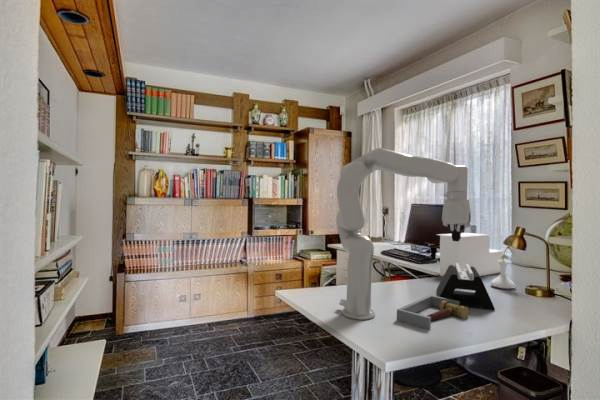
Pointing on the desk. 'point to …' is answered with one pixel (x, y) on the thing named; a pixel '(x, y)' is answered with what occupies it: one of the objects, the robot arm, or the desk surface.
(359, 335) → the desk surface
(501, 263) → the flower in vase
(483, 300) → the device stand
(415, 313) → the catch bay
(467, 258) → the white stepped block
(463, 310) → the gavel
